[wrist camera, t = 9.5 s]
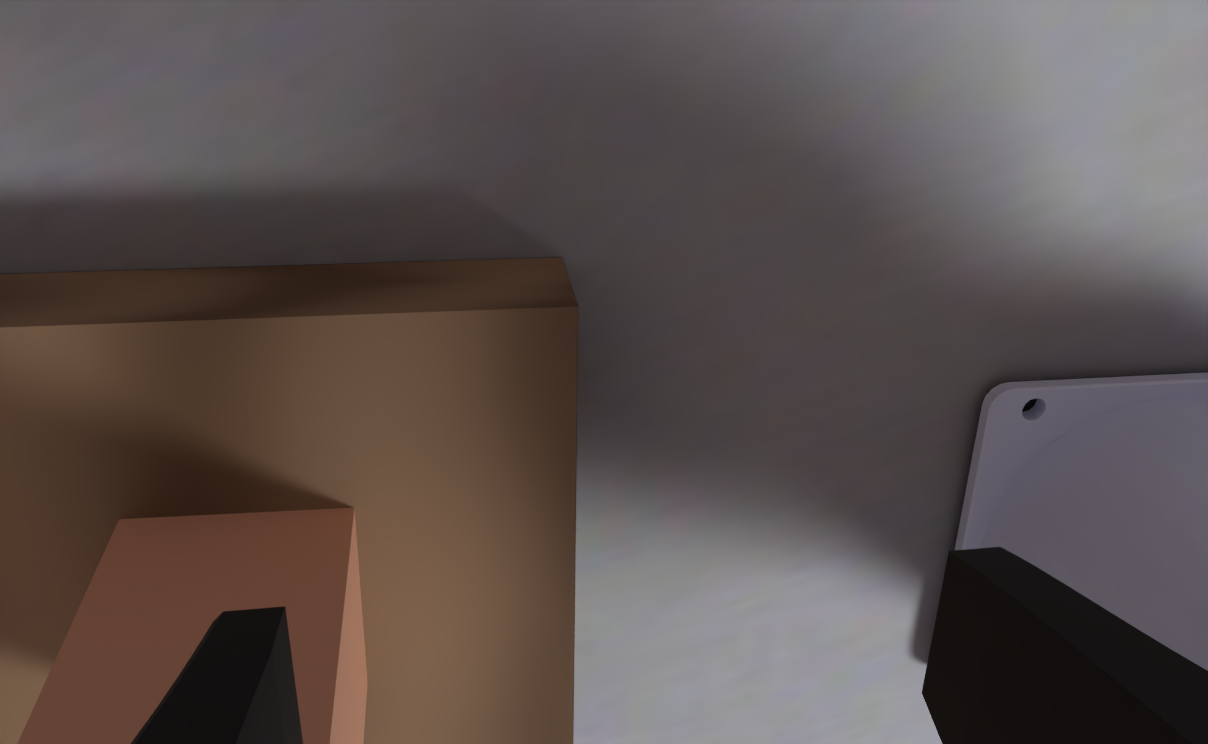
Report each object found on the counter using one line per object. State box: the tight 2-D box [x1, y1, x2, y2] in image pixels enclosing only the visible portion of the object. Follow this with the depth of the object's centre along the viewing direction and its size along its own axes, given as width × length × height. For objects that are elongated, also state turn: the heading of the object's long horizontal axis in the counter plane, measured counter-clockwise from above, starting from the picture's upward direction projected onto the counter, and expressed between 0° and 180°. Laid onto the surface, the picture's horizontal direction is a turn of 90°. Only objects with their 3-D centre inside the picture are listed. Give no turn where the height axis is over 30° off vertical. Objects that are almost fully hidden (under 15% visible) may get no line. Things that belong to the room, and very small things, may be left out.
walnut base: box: [0, 257, 578, 744], centre depth 21 cm, size 12×12×2 cm
